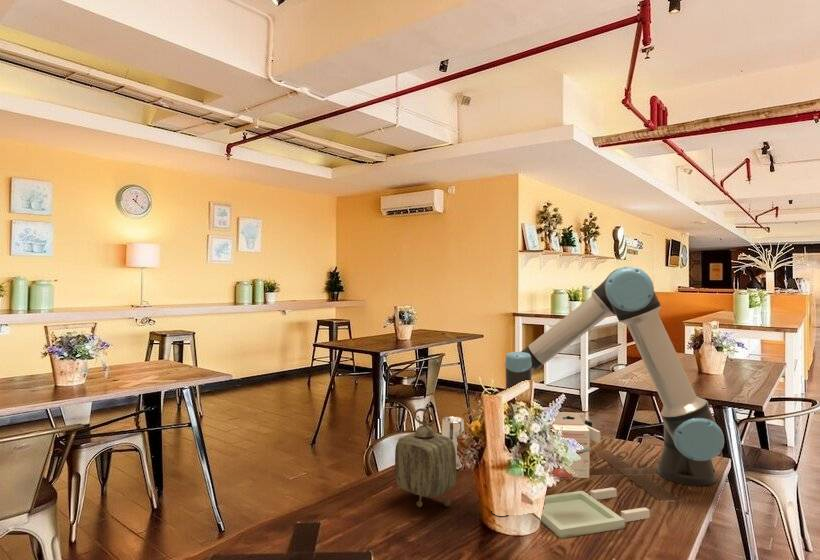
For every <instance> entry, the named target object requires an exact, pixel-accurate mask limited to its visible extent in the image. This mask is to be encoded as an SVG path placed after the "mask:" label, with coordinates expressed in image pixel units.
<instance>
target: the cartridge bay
mask: <svg viewBox="0 0 820 560" xmlns="http://www.w3.org/2000/svg"><path fill="white" fill-rule="evenodd" d="M589 492H590V493H589V494H590V496H591V497H593V498H594V499H596V500H597V501H599V500H605V499H612V498H617V496H618V495H617V494H618V493H617V492H618V491H617V488H615V487H612V486H611V487H607V488H606V487H605V488H597V489H591V490H590V491H589ZM650 512H651V511H650V509H649V508H647V507H638V508H631V509H625V510H620V517H622V518H623V519H624V520H625V523H627V522H633V521H639V520H640V519H641V520H648V519H651V517H650V516H651V515H650V514H651V513H650ZM641 520H640V521H641Z"/></svg>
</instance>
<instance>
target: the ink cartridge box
mask: <svg viewBox="0 0 820 560" xmlns="http://www.w3.org/2000/svg"><path fill="white" fill-rule="evenodd" d="M557 412H558V414H557V417H556V419H555V421H554V424H553V425H552V429H553V430H555V431H559V430H560V429H561V428H560V427H563V429H562V435H563V437H564V438H573V439H575V440H576V441H577V442H578V443H579V444H580V445H582V446H583V447H584V449H582V450H578V451H576V453H577V454H578V455H579V456H580V457H581V460H578V461H574V462H573V464H572V465H571V469H572V470H573V471H574V472H575V474H577V475H578V476H577V475H575V474H569V473H567V472H565V471H564V470H562V469H555V470H553V472H552V474H553V476H554V477H560V478H583V479H588V478H590V467H591V465H590V455H591V452H590V448H591V447H590V446H591V443H590V442H591V441H590V440H591V439H590V430H589V429H588V428H587V426H586V425H585V420H586V413H584V412H566V411H562V412H560V411H557ZM567 416H570V417H574V419H573V420H572V419H563V417H567Z"/></svg>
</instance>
